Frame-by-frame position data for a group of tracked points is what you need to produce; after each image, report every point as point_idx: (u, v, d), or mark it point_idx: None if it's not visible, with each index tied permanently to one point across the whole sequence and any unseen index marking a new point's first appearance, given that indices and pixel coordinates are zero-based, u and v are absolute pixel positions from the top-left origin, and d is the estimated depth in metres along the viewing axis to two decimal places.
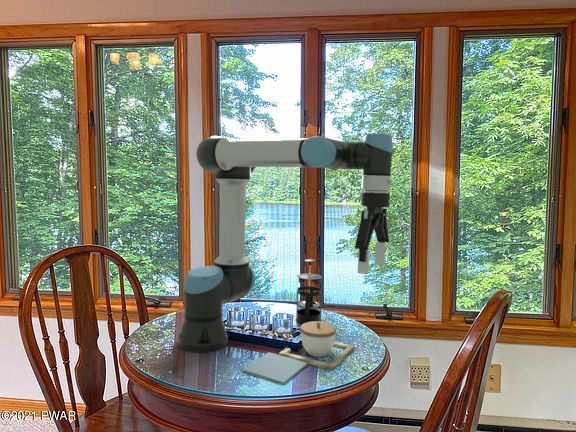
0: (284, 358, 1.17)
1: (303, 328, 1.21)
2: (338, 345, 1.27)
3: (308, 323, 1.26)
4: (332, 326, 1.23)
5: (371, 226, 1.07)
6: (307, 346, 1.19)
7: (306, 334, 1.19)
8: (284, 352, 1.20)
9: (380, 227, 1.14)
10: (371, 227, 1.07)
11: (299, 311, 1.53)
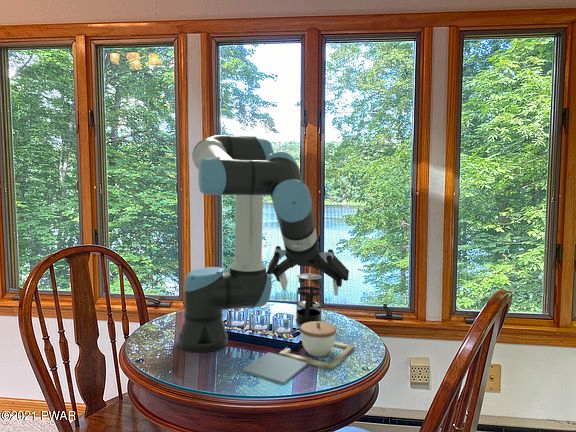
0: (284, 358, 1.17)
1: (303, 328, 1.21)
2: (338, 345, 1.27)
3: (308, 323, 1.26)
4: (332, 326, 1.23)
5: (287, 263, 0.97)
6: (307, 346, 1.19)
7: (306, 334, 1.19)
8: (284, 352, 1.20)
9: None
10: (286, 264, 0.98)
11: (299, 311, 1.53)
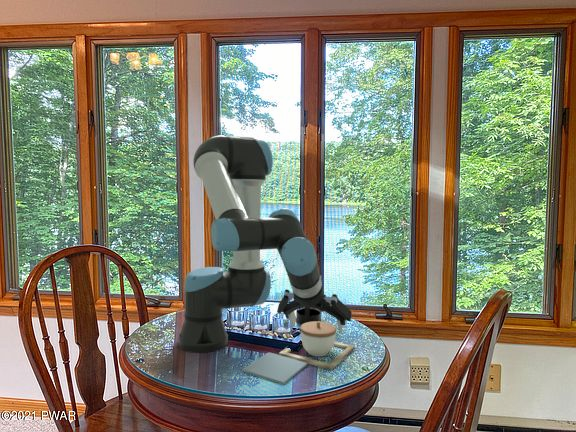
0: (284, 358, 1.17)
1: (303, 328, 1.21)
2: (338, 345, 1.27)
3: (308, 323, 1.26)
4: (332, 326, 1.23)
5: (295, 304, 1.07)
6: (307, 346, 1.19)
7: (306, 334, 1.19)
8: (284, 352, 1.20)
9: None
10: (294, 305, 1.07)
11: (299, 311, 1.53)
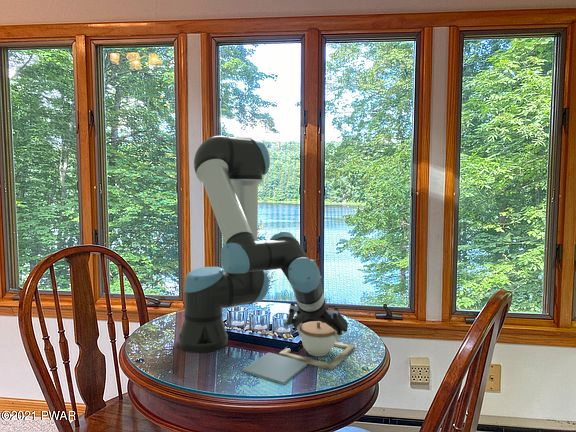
0: (284, 358, 1.17)
1: (303, 328, 1.21)
2: (338, 345, 1.27)
3: (308, 322, 1.26)
4: None
5: (301, 317, 1.17)
6: (307, 346, 1.19)
7: (306, 334, 1.19)
8: (284, 352, 1.20)
9: None
10: (300, 317, 1.17)
11: None
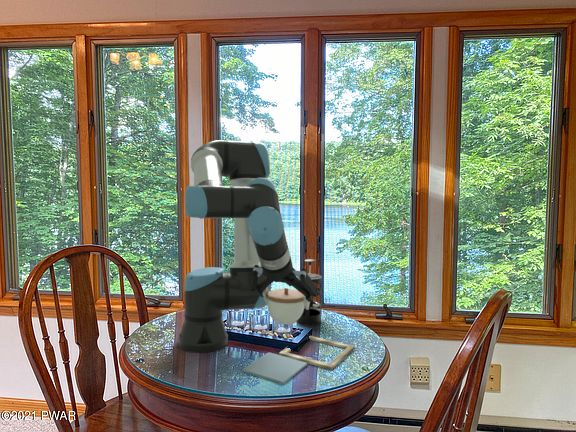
0: (284, 358, 1.17)
1: (269, 294, 1.10)
2: (338, 345, 1.27)
3: (276, 290, 1.15)
4: (301, 293, 1.13)
5: (266, 280, 1.06)
6: (273, 314, 1.09)
7: (272, 300, 1.08)
8: (284, 352, 1.20)
9: None
10: (265, 281, 1.06)
11: None
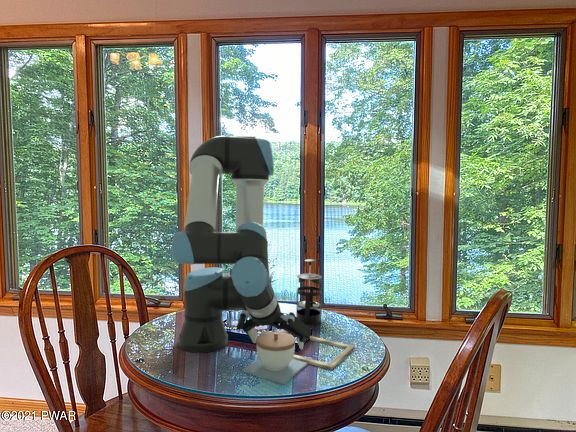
0: None
1: (259, 340, 1.10)
2: (338, 345, 1.27)
3: (266, 333, 1.14)
4: (291, 337, 1.12)
5: (253, 322, 1.05)
6: (262, 360, 1.08)
7: (261, 347, 1.07)
8: None
9: None
10: (252, 323, 1.05)
11: (299, 311, 1.53)
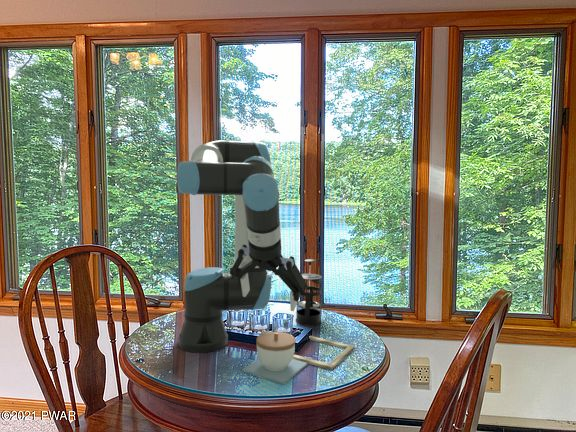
0: None
1: (259, 340, 1.10)
2: (338, 345, 1.27)
3: (266, 333, 1.14)
4: (291, 337, 1.12)
5: (249, 264, 1.00)
6: (262, 360, 1.08)
7: (261, 347, 1.08)
8: None
9: None
10: (249, 264, 1.00)
11: (299, 311, 1.53)
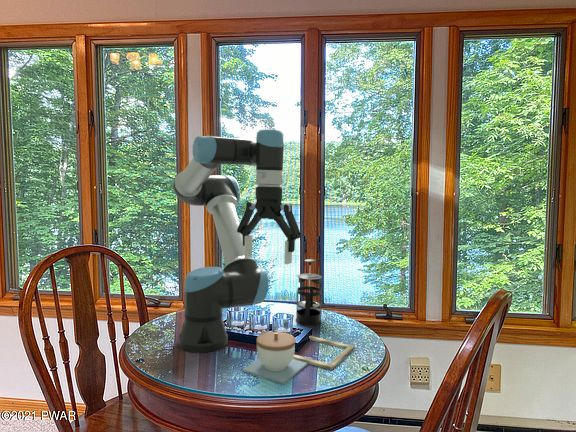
0: None
1: (259, 340, 1.10)
2: (338, 345, 1.27)
3: (266, 333, 1.14)
4: (291, 337, 1.12)
5: None
6: (262, 360, 1.08)
7: (261, 347, 1.08)
8: None
9: None
10: None
11: (299, 311, 1.53)
